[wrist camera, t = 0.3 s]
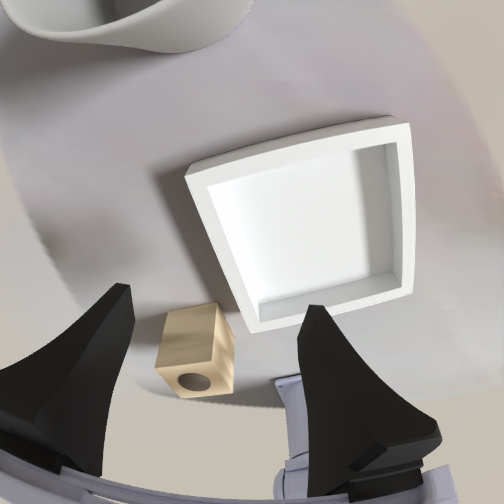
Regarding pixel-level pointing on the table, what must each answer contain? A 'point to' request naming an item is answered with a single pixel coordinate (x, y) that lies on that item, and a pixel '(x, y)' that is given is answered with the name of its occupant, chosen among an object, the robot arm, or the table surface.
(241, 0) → the mug
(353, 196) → the tray
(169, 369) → the bore block
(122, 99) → the table surface
